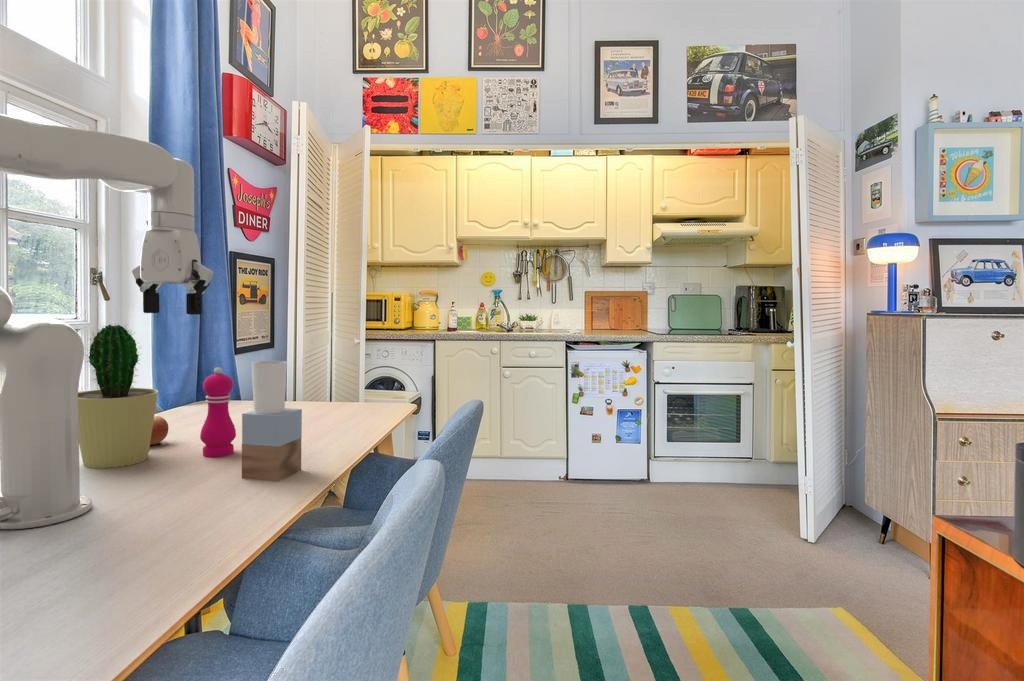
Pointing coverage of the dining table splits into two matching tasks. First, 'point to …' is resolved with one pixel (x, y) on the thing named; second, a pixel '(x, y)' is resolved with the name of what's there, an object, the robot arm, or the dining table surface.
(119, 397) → the potted cactus
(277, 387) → the white cup
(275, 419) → the slate block
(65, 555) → the dining table surface
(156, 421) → the apple
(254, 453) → the walnut block
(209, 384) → the pepper mill
